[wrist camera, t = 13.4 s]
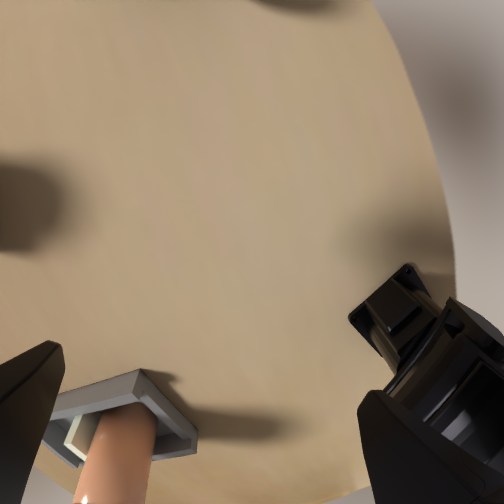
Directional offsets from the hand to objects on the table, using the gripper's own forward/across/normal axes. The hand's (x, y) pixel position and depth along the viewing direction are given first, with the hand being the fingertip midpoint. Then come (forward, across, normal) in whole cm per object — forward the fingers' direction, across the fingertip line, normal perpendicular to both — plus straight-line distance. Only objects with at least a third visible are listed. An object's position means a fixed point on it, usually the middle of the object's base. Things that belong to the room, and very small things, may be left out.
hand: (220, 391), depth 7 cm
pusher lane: (+13, +8, +22) cm, 27 cm away
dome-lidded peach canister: (+13, +5, +20) cm, 24 cm away
